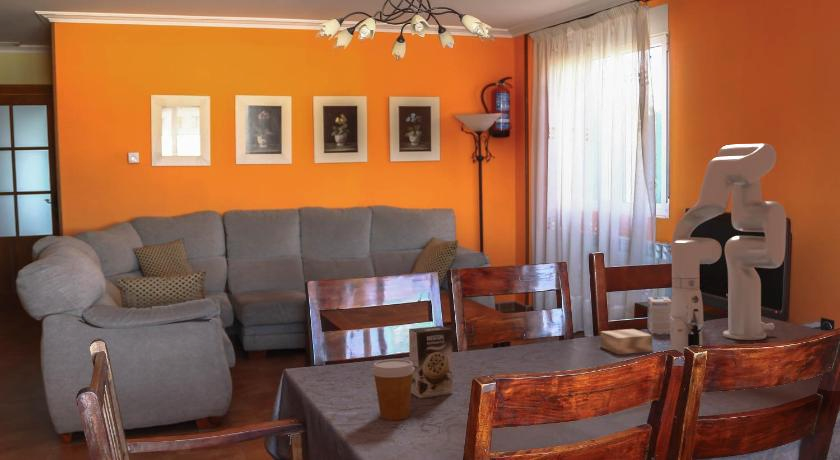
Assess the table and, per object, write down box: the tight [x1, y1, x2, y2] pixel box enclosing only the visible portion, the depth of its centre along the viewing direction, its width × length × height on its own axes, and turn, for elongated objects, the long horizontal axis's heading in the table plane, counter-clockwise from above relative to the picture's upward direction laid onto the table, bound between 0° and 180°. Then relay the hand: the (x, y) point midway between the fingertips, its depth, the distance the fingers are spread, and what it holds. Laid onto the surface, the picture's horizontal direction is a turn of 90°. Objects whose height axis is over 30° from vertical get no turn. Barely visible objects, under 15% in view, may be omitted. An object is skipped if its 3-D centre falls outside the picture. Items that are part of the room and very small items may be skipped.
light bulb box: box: [647, 296, 671, 334], centre depth 276 cm, size 11×7×11 cm, turn 172°
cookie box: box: [408, 325, 454, 399], centre depth 207 cm, size 9×6×16 cm
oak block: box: [600, 328, 653, 355], centre depth 251 cm, size 11×11×5 cm
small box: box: [669, 317, 703, 351], centre depth 242 cm, size 8×6×10 cm
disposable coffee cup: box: [371, 358, 415, 421], centre depth 188 cm, size 10×10×12 cm
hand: (686, 344), depth 242 cm, fingers closed on small box, 7 cm apart
